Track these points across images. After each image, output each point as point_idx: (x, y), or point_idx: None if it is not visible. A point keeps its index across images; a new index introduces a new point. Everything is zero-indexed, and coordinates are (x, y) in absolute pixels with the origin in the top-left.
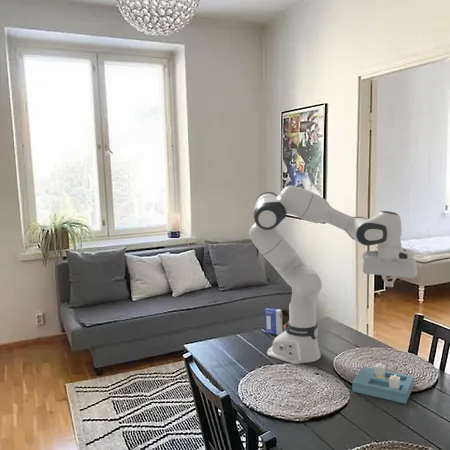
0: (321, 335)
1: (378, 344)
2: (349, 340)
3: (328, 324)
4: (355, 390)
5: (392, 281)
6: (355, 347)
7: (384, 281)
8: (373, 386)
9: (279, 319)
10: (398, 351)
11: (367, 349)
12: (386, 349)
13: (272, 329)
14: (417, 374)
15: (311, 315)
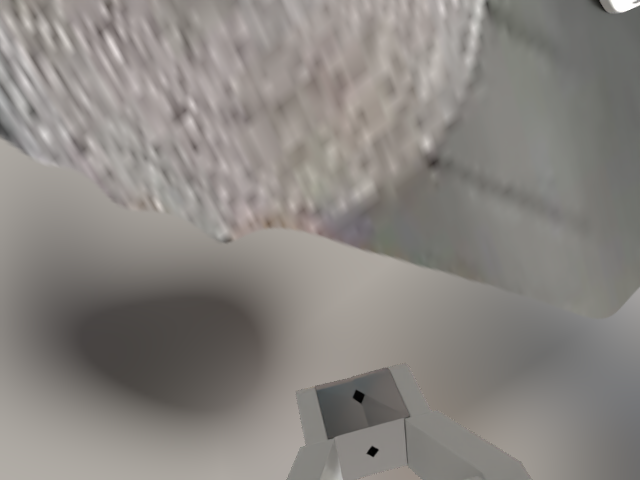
0: (598, 169)
1: (363, 233)
2: (480, 196)
3: (593, 280)
4: None
5: (308, 470)
6: (435, 146)
7: (442, 417)
8: None
9: None
10: (266, 222)
11: (383, 159)
12: (315, 209)
13: None
14: (67, 37)
15: None
